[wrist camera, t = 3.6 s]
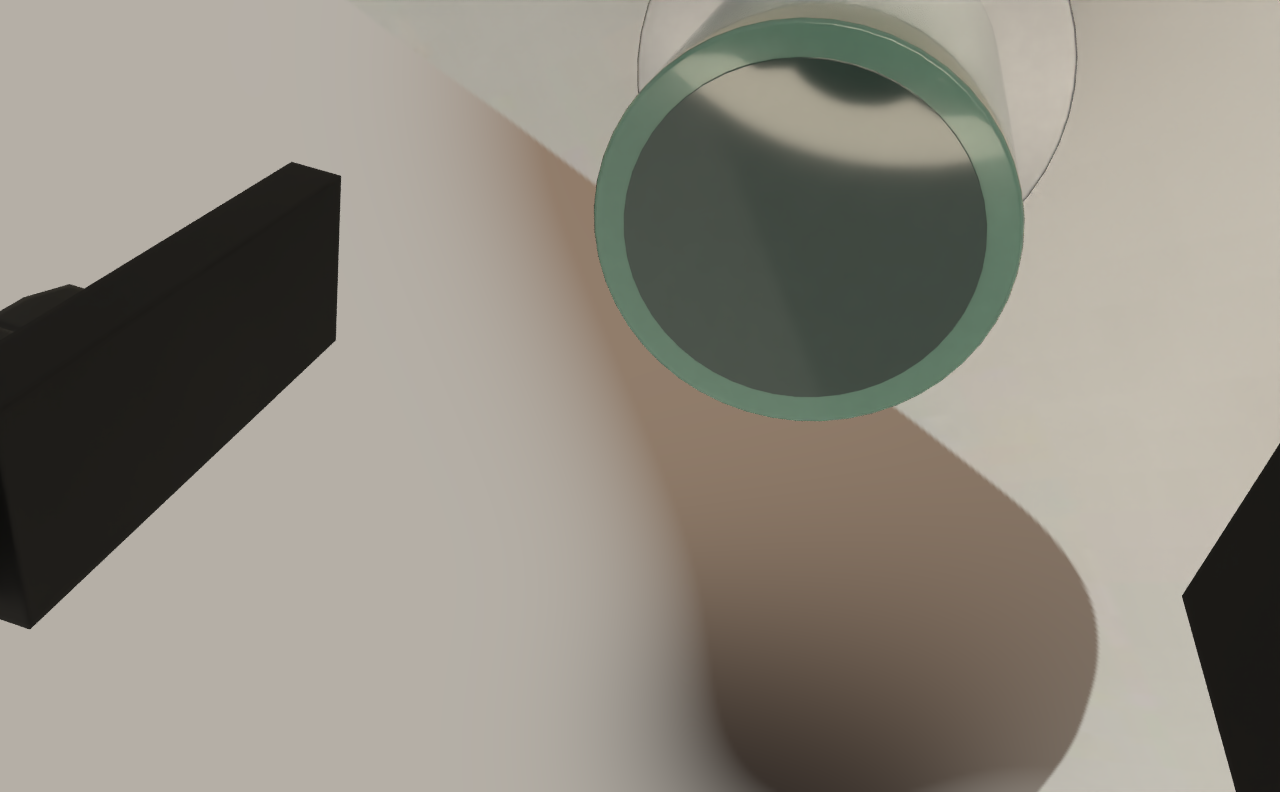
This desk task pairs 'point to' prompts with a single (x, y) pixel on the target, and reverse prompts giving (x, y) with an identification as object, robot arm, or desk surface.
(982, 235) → the tumbler
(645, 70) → the tan and grey cylinder
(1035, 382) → the desk surface
